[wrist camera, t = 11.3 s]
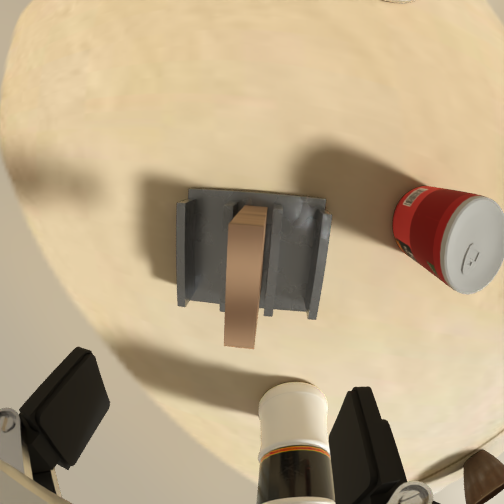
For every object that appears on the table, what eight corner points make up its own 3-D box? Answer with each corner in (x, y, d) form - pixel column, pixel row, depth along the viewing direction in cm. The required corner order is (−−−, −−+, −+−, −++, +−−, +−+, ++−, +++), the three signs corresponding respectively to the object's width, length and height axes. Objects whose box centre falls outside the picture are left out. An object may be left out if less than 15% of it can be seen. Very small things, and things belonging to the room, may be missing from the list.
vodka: (310, 368, 33) (331, 610, 4) (335, 408, 35) (361, 600, 6) (246, 392, 35) (212, 608, 6) (277, 428, 36) (268, 608, 8)
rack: (191, 188, 28) (177, 191, 24) (324, 198, 27) (333, 203, 23) (189, 296, 31) (178, 314, 27) (309, 308, 30) (314, 328, 26)
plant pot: (460, 457, 40) (478, 499, 25) (501, 432, 38) (522, 469, 22) (447, 479, 44) (460, 516, 28) (486, 457, 41) (502, 491, 26)
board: (244, 205, 27) (228, 223, 17) (267, 207, 27) (264, 226, 17) (239, 291, 30) (224, 345, 20) (260, 293, 29) (253, 348, 20)
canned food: (383, 250, 28) (432, 291, 17) (397, 177, 26) (457, 184, 15) (437, 260, 28) (492, 298, 17) (451, 194, 25) (515, 208, 15)
